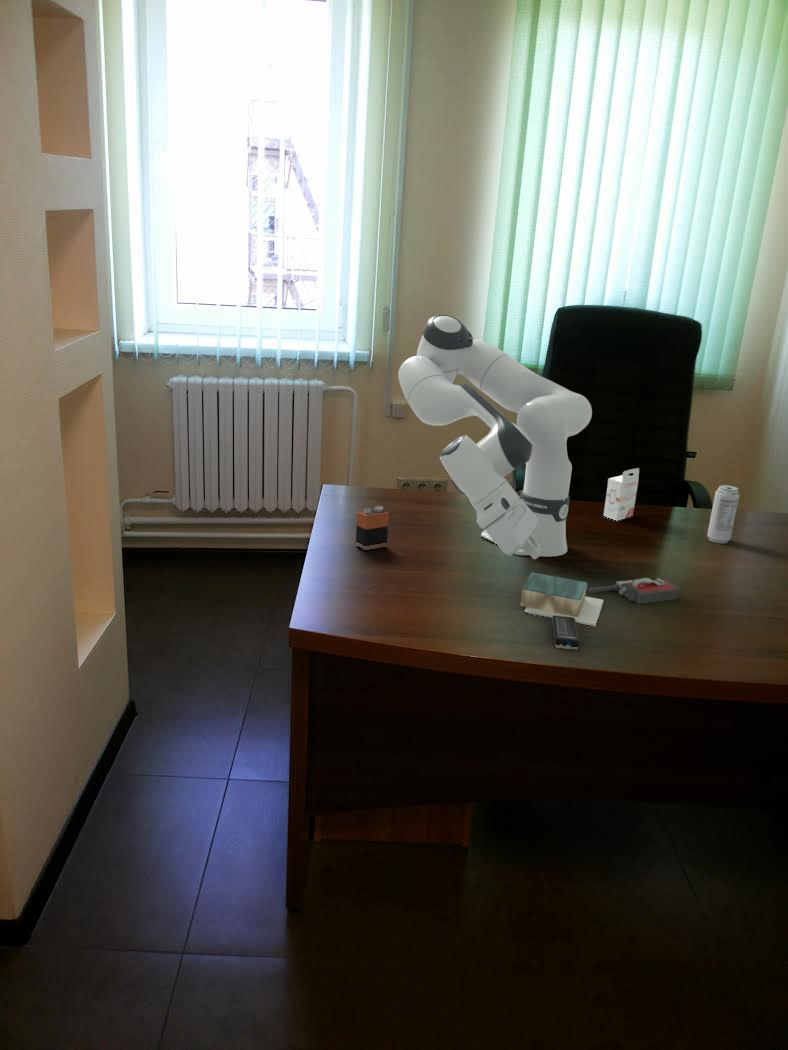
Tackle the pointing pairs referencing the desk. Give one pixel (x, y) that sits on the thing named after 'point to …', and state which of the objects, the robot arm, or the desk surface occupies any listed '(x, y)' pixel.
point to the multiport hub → (565, 631)
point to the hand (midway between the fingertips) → (538, 555)
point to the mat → (586, 614)
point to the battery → (372, 526)
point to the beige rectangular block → (553, 594)
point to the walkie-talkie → (643, 590)
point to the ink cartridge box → (621, 495)
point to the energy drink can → (723, 514)
